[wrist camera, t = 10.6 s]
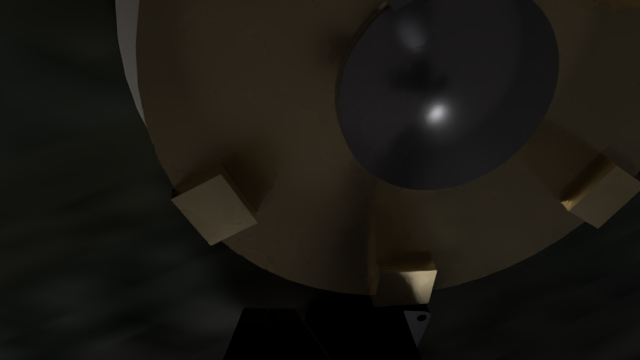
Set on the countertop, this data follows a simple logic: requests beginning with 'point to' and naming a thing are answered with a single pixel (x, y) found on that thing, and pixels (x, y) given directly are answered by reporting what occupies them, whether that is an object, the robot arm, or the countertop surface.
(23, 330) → the countertop surface
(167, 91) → the shallow round tray
